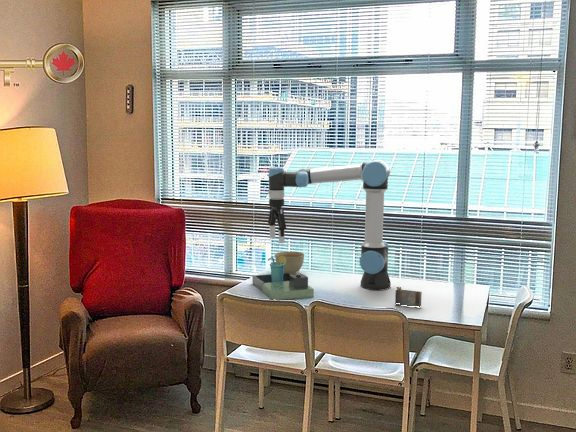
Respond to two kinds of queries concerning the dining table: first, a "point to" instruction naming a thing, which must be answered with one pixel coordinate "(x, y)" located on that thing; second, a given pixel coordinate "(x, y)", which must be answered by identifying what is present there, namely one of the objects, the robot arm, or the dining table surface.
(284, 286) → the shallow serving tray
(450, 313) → the dining table surface
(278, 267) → the cup
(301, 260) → the planter bowl
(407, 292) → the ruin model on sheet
